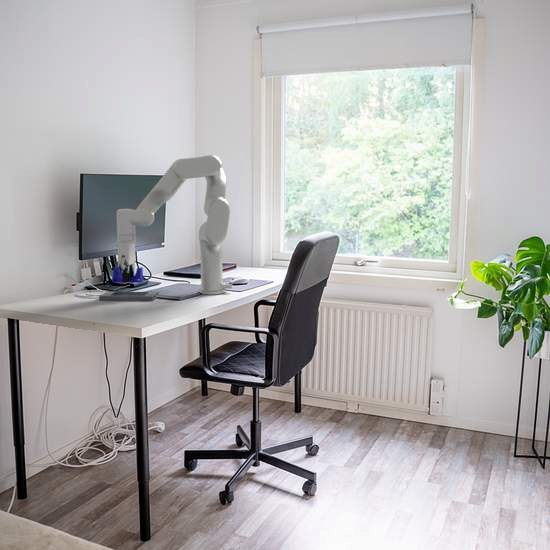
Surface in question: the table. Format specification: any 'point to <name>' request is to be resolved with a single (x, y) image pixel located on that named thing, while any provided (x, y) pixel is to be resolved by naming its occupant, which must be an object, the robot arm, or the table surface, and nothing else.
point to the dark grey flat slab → (128, 296)
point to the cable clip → (136, 278)
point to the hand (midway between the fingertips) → (128, 280)
